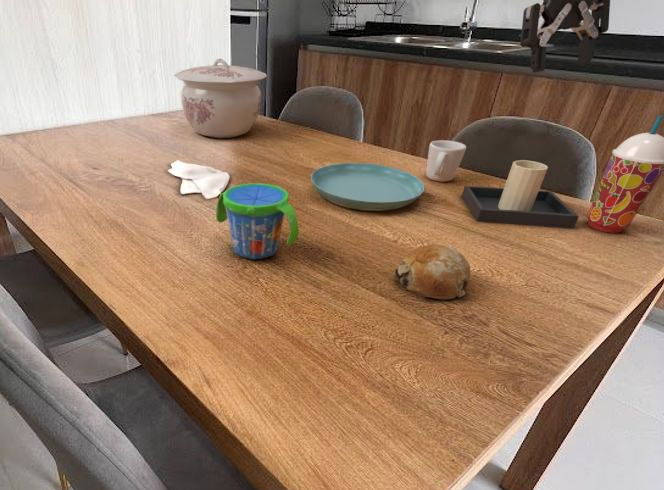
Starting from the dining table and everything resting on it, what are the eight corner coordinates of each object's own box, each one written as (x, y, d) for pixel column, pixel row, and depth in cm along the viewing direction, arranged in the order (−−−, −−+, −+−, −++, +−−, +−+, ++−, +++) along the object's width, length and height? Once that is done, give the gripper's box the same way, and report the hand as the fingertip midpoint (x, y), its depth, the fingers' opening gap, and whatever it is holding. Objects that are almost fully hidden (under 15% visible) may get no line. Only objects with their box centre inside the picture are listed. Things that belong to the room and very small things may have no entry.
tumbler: (524, 204, 94) (541, 161, 89) (534, 215, 90) (552, 170, 84) (494, 202, 95) (509, 159, 90) (502, 213, 90) (518, 168, 85)
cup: (450, 190, 102) (460, 154, 98) (415, 183, 106) (423, 148, 101) (459, 177, 110) (469, 143, 105) (426, 171, 113) (434, 138, 109)
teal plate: (315, 215, 90) (316, 199, 88) (305, 175, 110) (306, 161, 108) (436, 217, 90) (440, 201, 88) (404, 177, 109) (407, 163, 107)
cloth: (244, 195, 99) (244, 185, 97) (182, 201, 95) (181, 191, 94) (215, 160, 119) (215, 152, 117) (164, 165, 115) (163, 156, 114)
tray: (546, 202, 97) (551, 190, 95) (573, 228, 86) (579, 216, 85) (461, 196, 99) (464, 185, 98) (476, 221, 88) (480, 209, 87)
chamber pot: (255, 147, 129) (256, 65, 117) (165, 141, 134) (158, 62, 122) (272, 125, 151) (275, 54, 139) (195, 120, 156) (191, 51, 144)
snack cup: (201, 245, 79) (199, 189, 73) (244, 227, 85) (244, 174, 79) (267, 278, 70) (270, 217, 64) (309, 256, 76) (315, 198, 70)
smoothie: (580, 214, 91) (630, 108, 80) (630, 224, 88) (690, 115, 76) (577, 229, 86) (631, 117, 74) (630, 240, 82) (696, 124, 70)
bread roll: (439, 325, 66) (480, 290, 61) (383, 283, 67) (417, 245, 62) (450, 294, 73) (487, 259, 68) (398, 256, 74) (431, 220, 69)
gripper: (546, -45, 71) (538, 70, 76) (631, -58, 71) (617, 57, 77) (514, -27, 78) (509, 77, 83) (592, -39, 78) (582, 65, 84)
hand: (561, 68), depth 80 cm, fingers open, 8 cm apart
